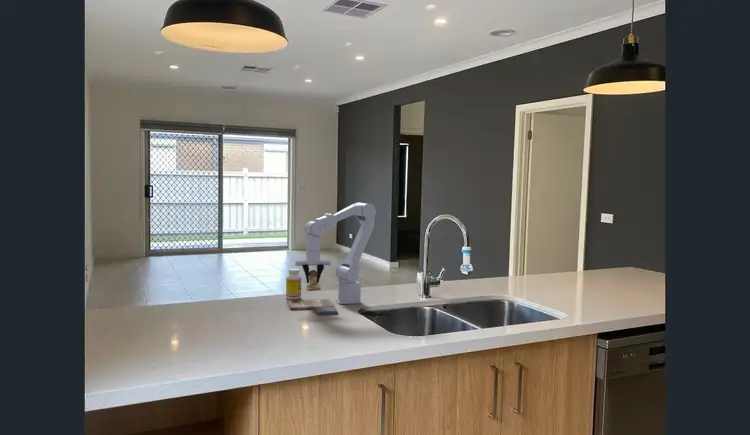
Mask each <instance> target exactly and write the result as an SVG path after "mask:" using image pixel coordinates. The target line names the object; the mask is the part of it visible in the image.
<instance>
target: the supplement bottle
mask: <svg viewBox="0 0 750 435" xmlns="http://www.w3.org/2000/svg"><path fill="white" fill-rule="evenodd" d="M285 279H286V281H285V298H286V299H287V300H301V298H302V275H300V268H289V269H288V274H287V275H286V278H285Z"/></svg>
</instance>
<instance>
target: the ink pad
mask: <svg viewBox="0 0 750 435" xmlns="http://www.w3.org/2000/svg"><path fill="white" fill-rule="evenodd" d="M314 310H315V313H316V314H317V316H326V315H327V316H329V315H331V316H332V315H334V316H335V315H336V316H337V315H339V311H338V310H337V308H336V306H335V307H317V308H315V309H314Z"/></svg>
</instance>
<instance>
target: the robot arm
mask: <svg viewBox="0 0 750 435" xmlns="http://www.w3.org/2000/svg"><path fill="white" fill-rule="evenodd" d="M376 214H377V209H376V207H375V206H374V204H373V203H366V202H360V201H358V202H355V203H353V204H350V205H348V206H346V207H345V208H343V209H341V210H340V211H337V212H336V213H334V214H332V213H331V212H330V213H327V212H326V213H324V215H322V216H321V217H319V218H315V219H314V221H313V220H310V221H308V222H307V223H306V224H305V226H304V228H303V229H304V230H303V231H304V232H305V234H306V244H305V246H306V249H305V250H306V252H305V253H306V254H305V256H306V257H305V258H306V259H300V260H295V261H294V263H295V264H294V266H295V267H299V266H301V268H302V270H303V272H304V274H305V280H306V284H310V277H309V272H310V266H316V271H317V284H320V283H319V282H320V279H321V275H322V273H323V271H324V269H325V266H328V267H329V266H332V261H331V260H330V259H329V260H328V259H327V260H324V259H321V236H322V235H323V233H324V232H325V231H328V230H329V229H331V228H334V227H335V226H336V225H337V223H338V222H339V221H342V220H344V219H347V218H349V217H352V216H354V217H355V218H356V219H357V220H358V221H359V225H360V226H359V227H360V228H359V229H358V232H357V234H356V237H355V239H354V241H353V243H352V245H351V248H350V250H349V252H348V254H347V257H346V258H345V259H343V260H342V261H341V263H340V265H338V267H337V268H336V270H335V275H336V278H338V293H337V295H338V296H337V297H338V298H336V299H335V301H336V302H337V303H338V304H339V305H346V304H347V305H349V304H352V305H353V304H361V294H362V293H361V289H362V288H361V282H360V281H358V279H359V272H360V269H361V267H360V264H359V262H360V260H361V258H362V256H363V253H364V251H365V248H366V246H367V244H368V242H369V240H370V237H371V234H372V233H373V230H374V228H375V219H376Z"/></svg>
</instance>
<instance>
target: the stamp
mask: <svg viewBox="0 0 750 435" xmlns="http://www.w3.org/2000/svg"><path fill="white" fill-rule="evenodd" d="M321 288H322V287H321V284H320V283H317V270H315V269H311V270H309V283H306V291H307V292H312V291H314V292H315V291H322V290H321Z"/></svg>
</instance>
